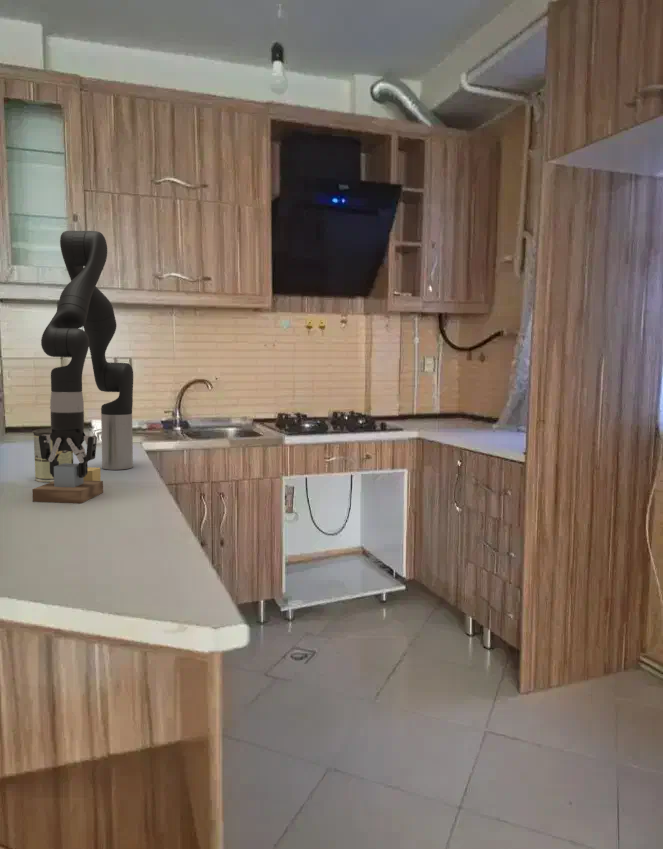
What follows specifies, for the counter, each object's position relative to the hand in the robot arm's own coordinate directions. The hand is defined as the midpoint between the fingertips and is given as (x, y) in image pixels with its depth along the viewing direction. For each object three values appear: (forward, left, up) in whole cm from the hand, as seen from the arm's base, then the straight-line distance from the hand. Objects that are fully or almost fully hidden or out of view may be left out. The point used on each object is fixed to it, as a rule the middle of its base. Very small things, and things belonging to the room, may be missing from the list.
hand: (68, 476), depth 150 cm
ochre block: (-12, -1, -5) cm, 13 cm away
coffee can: (-21, -15, -5) cm, 26 cm away
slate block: (0, 0, -2) cm, 2 cm away
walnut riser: (0, 0, -5) cm, 5 cm away
